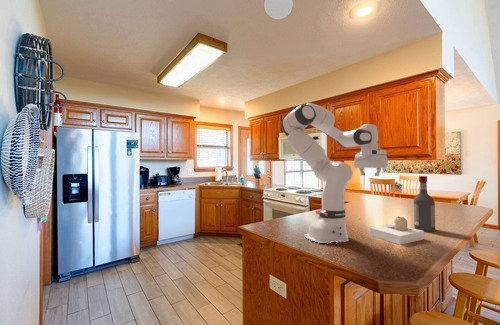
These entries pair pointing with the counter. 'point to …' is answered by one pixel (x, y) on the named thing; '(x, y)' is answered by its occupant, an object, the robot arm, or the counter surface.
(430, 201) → the liquor
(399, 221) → the candle
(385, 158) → the robot arm
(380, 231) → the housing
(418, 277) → the counter surface
